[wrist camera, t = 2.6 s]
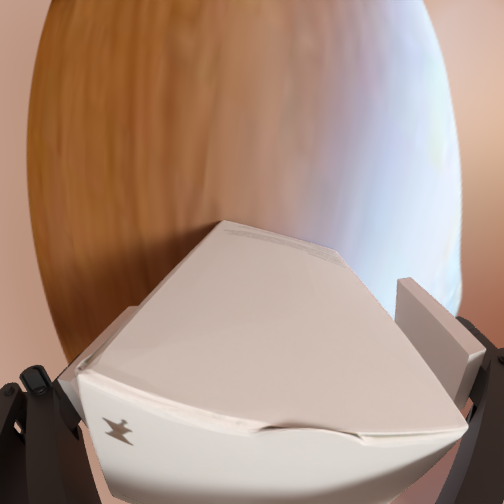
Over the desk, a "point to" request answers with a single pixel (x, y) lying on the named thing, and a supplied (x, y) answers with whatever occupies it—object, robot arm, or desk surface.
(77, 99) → the desk surface
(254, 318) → the skincare box
